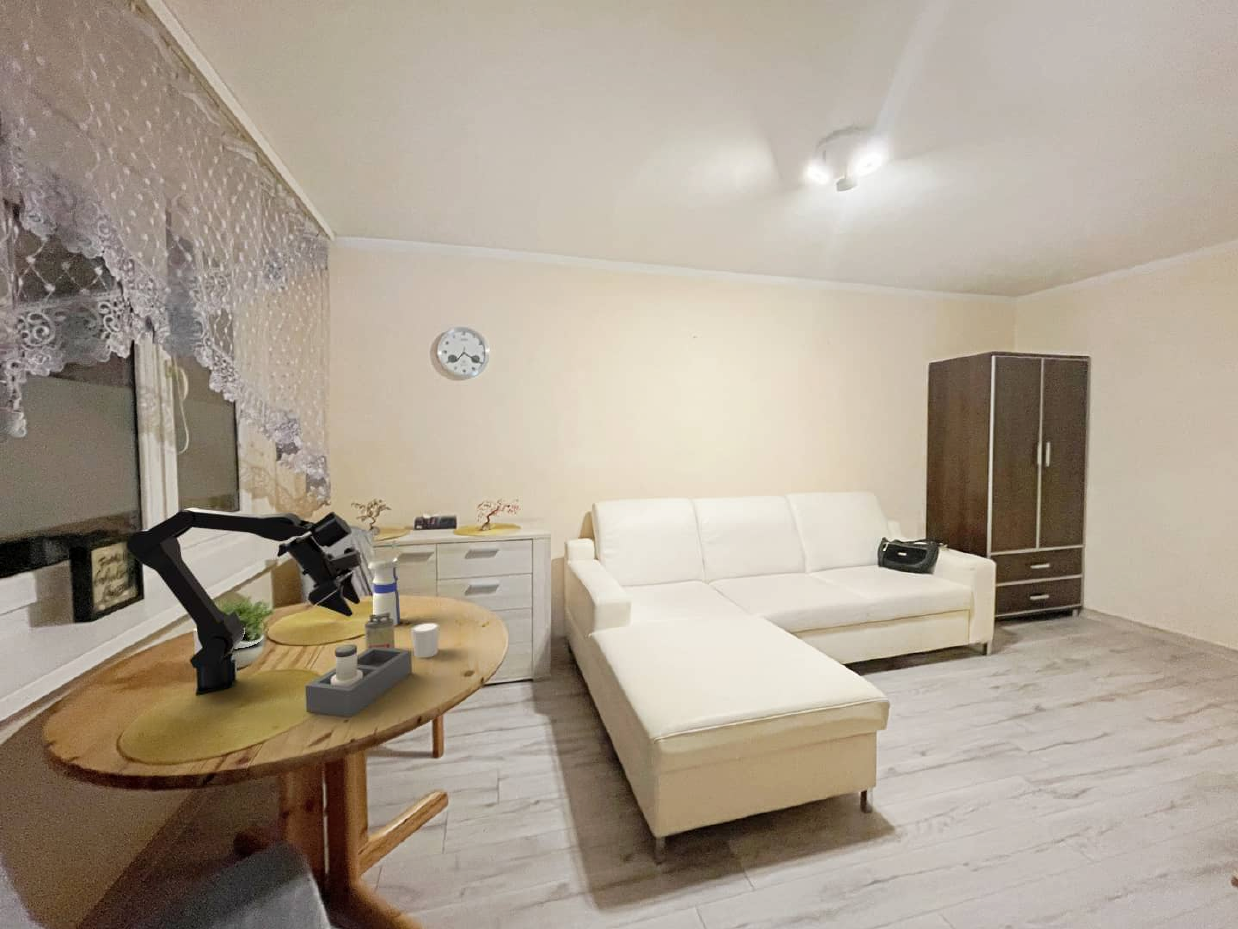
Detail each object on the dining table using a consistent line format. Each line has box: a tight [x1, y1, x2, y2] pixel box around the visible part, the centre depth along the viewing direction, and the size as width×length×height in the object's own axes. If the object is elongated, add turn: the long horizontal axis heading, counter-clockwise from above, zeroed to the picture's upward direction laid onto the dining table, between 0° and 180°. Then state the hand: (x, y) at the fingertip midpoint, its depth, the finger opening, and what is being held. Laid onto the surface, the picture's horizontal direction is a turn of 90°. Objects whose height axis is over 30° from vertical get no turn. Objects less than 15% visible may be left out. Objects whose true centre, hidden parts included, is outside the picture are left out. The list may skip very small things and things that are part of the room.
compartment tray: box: [305, 647, 413, 718], centre depth 111 cm, size 20×11×6 cm, turn 167°
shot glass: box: [410, 622, 440, 659], centre depth 130 cm, size 7×7×7 cm
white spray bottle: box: [367, 539, 401, 627], centre depth 151 cm, size 8×9×25 cm
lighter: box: [364, 612, 396, 651], centre depth 132 cm, size 7×4×10 cm, turn 112°
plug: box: [331, 644, 363, 687], centre depth 107 cm, size 6×6×9 cm
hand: (355, 609), depth 122 cm, fingers open, 9 cm apart
